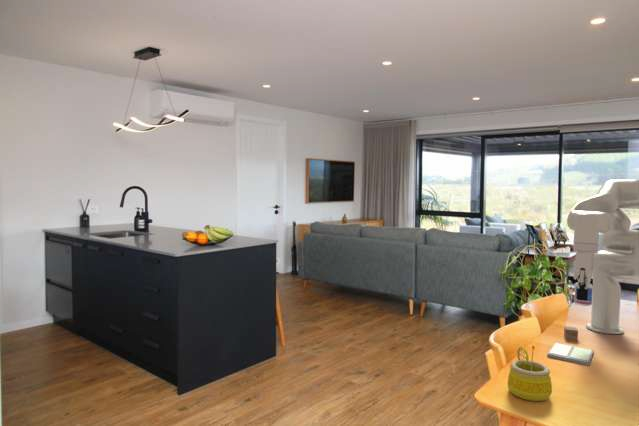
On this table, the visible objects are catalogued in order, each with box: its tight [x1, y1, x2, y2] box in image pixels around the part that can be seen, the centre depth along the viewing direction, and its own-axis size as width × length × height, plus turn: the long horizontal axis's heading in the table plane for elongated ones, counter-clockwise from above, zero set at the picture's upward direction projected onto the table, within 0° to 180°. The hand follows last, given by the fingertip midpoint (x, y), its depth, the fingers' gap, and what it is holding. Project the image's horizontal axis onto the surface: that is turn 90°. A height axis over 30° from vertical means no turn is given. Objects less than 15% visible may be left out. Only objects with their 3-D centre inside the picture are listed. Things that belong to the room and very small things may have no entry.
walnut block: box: [563, 325, 579, 342], centre depth 172 cm, size 4×4×4 cm
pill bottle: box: [574, 277, 593, 307], centre depth 163 cm, size 6×5×10 cm
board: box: [546, 342, 595, 366], centre depth 155 cm, size 14×12×1 cm
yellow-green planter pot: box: [507, 345, 553, 402], centre depth 125 cm, size 13×11×12 cm
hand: (583, 297), depth 163 cm, fingers closed on pill bottle, 5 cm apart
